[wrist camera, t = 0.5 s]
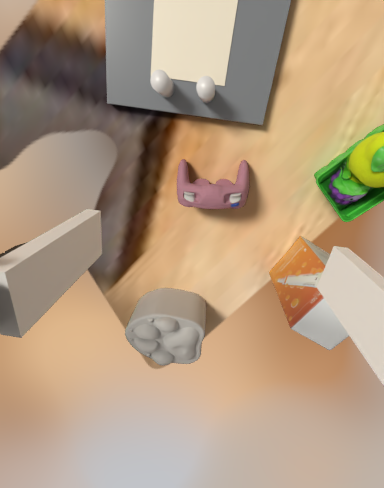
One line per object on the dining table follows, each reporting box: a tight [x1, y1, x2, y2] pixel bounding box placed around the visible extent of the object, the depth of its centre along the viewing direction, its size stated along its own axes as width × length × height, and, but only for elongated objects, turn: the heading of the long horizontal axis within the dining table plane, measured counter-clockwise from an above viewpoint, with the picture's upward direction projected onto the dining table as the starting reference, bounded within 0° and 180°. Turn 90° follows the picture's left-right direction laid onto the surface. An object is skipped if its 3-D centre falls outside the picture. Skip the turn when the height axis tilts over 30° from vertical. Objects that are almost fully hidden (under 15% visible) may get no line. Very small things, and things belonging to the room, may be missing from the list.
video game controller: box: [177, 159, 249, 209], centre depth 32 cm, size 10×5×7 cm, turn 90°
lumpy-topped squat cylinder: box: [125, 288, 206, 365], centre depth 41 cm, size 10×13×9 cm
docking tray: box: [105, 0, 291, 125], centre depth 24 cm, size 20×20×5 cm
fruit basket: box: [314, 124, 384, 222], centre depth 26 cm, size 11×9×11 cm
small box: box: [269, 236, 349, 350], centre depth 32 cm, size 8×6×13 cm
